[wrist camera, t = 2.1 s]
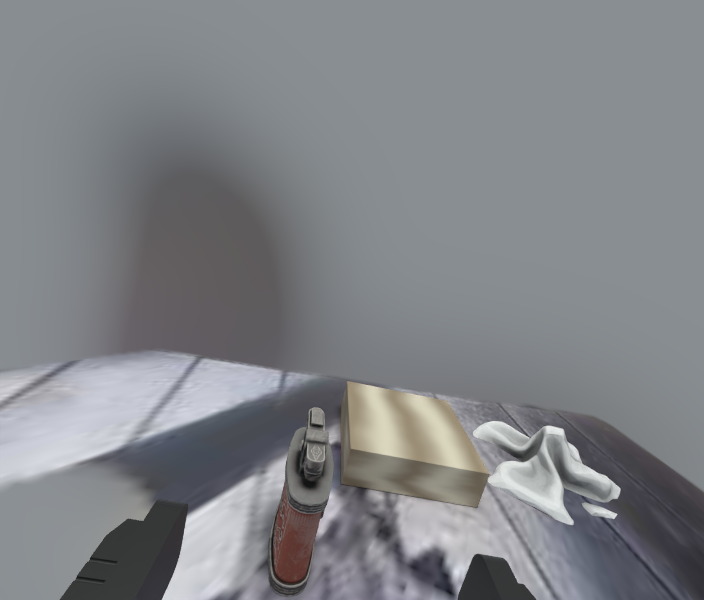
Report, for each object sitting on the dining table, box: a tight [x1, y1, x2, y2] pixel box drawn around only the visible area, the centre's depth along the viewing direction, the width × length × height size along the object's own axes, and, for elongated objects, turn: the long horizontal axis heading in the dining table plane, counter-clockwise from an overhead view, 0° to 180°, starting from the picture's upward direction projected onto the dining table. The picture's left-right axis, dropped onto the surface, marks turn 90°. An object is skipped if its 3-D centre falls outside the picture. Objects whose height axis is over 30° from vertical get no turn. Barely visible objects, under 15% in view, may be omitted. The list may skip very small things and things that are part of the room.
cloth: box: [473, 421, 620, 525], centre depth 45 cm, size 22×19×6 cm
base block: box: [341, 381, 490, 507], centre depth 42 cm, size 14×14×4 cm
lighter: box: [268, 408, 334, 597], centre depth 27 cm, size 8×3×10 cm, turn 5°
